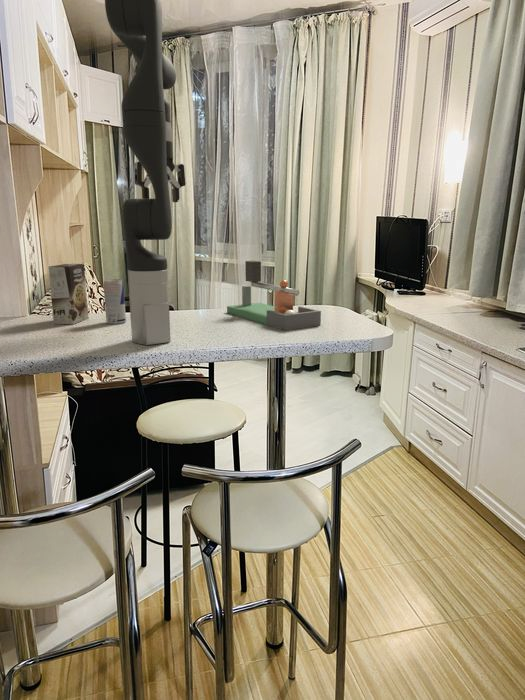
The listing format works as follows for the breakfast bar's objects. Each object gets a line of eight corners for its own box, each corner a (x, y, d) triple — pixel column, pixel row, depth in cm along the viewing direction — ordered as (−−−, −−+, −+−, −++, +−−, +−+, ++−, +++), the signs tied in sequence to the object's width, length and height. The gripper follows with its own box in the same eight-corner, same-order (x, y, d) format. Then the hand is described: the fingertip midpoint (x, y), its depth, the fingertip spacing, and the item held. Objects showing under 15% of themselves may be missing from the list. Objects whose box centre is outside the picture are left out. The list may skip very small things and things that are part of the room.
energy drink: (128, 320, 151) (125, 279, 148) (122, 324, 146) (119, 281, 143) (110, 320, 151) (107, 278, 148) (103, 324, 146) (100, 281, 143)
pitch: (320, 325, 145) (321, 296, 143) (285, 330, 139) (286, 300, 137) (259, 308, 170) (259, 284, 168) (227, 312, 163) (226, 286, 161)
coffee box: (74, 324, 145) (68, 266, 141) (52, 324, 146) (46, 266, 142) (89, 318, 154) (85, 263, 150) (69, 317, 155) (64, 263, 151)
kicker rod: (303, 315, 145) (304, 266, 142) (289, 317, 142) (290, 267, 139) (256, 303, 164) (256, 260, 161) (243, 305, 162) (242, 261, 158)
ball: (294, 306, 147) (289, 317, 150) (282, 307, 145) (278, 318, 148) (301, 314, 145) (297, 326, 147) (290, 316, 143) (285, 327, 145)
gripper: (138, 137, 136) (142, 201, 140) (188, 141, 144) (190, 202, 148) (128, 140, 142) (132, 202, 146) (176, 144, 150) (178, 202, 154)
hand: (161, 202), depth 147 cm, fingers open, 8 cm apart
